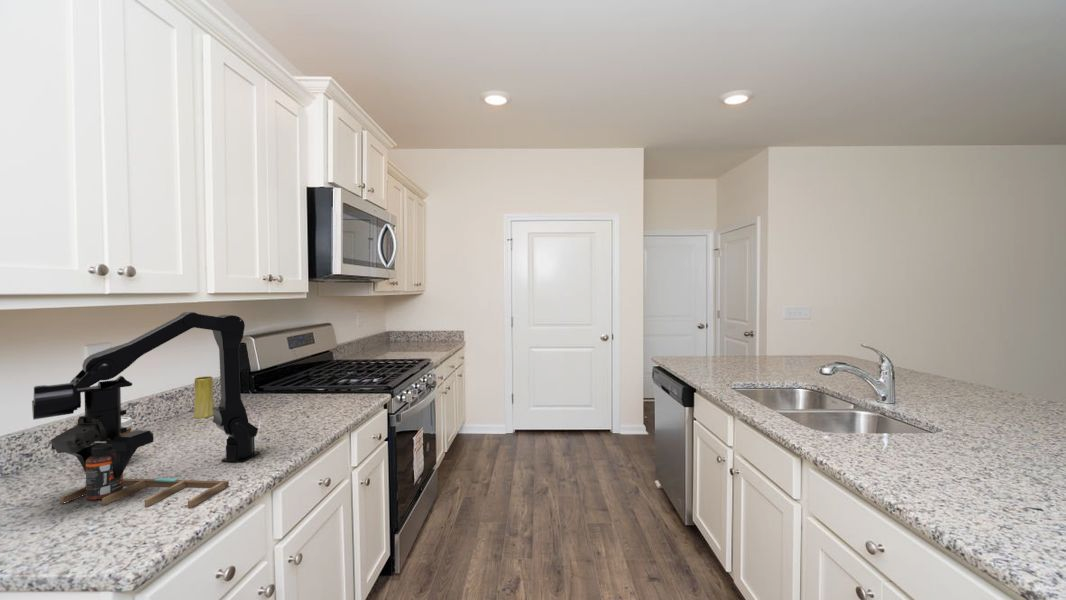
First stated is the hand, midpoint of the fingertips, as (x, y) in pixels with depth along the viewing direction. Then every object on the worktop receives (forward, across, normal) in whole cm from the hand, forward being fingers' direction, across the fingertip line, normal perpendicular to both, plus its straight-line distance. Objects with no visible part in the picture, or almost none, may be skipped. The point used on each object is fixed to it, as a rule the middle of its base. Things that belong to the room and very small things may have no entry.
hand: (104, 477), depth 95 cm
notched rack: (+4, +10, 0) cm, 11 cm away
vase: (+4, -29, +59) cm, 66 cm away
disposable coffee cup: (+4, -15, +14) cm, 21 cm away
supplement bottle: (+4, 0, 0) cm, 4 cm away
